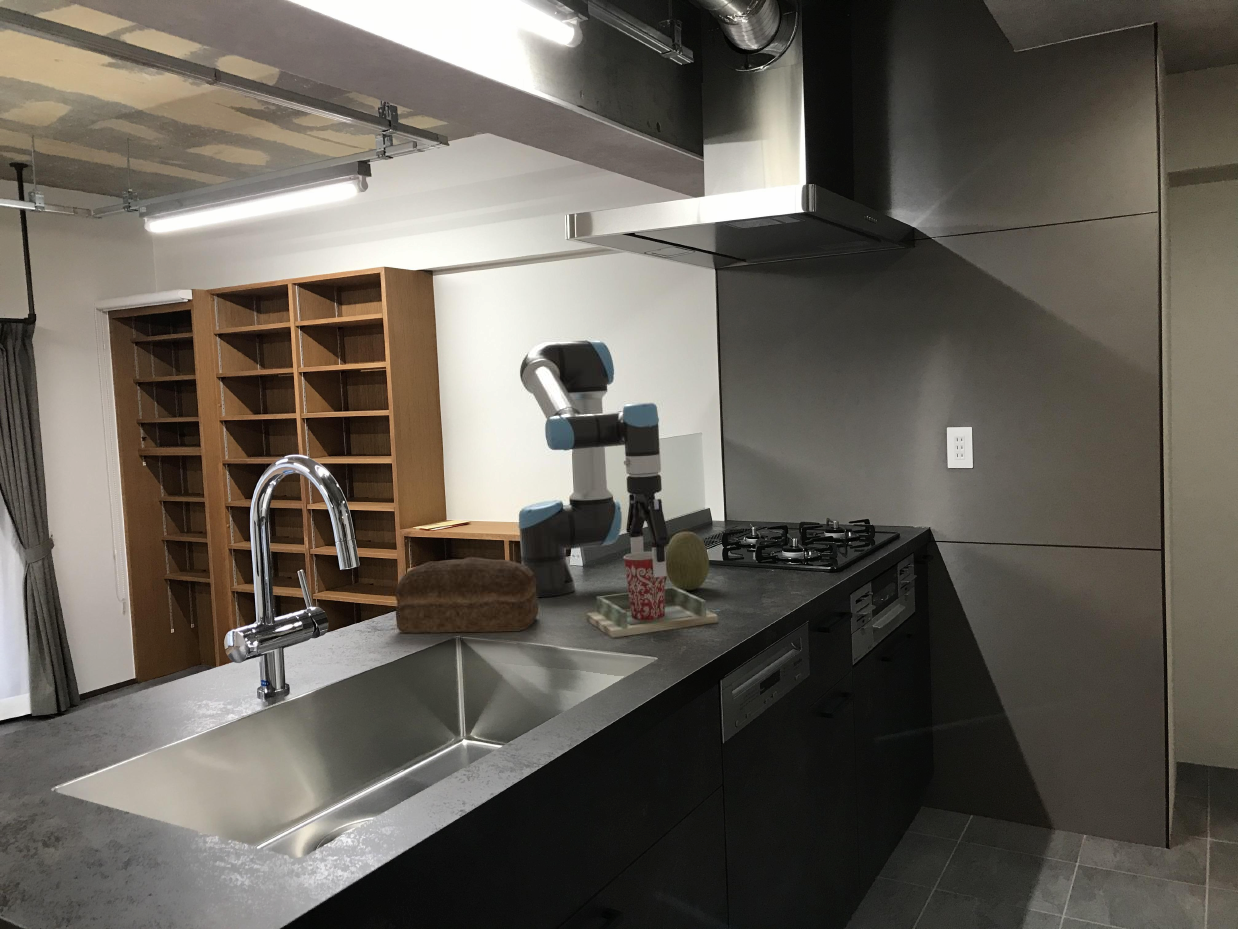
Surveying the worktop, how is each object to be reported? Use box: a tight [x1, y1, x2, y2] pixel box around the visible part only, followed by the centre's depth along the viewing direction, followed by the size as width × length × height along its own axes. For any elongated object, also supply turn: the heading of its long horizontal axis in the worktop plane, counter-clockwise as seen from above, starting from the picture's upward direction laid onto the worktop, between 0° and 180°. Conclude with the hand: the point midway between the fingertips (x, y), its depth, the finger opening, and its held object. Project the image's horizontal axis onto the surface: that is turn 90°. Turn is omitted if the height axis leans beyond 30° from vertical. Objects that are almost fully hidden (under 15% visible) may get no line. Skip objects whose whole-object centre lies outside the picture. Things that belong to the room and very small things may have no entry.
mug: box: [623, 551, 668, 620], centre depth 208 cm, size 13×9×14 cm
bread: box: [394, 556, 539, 633], centre depth 215 cm, size 15×32×16 cm, turn 80°
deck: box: [586, 586, 719, 638], centre depth 209 cm, size 18×24×5 cm
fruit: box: [665, 530, 710, 592], centre depth 240 cm, size 11×11×15 cm
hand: (648, 571), depth 208 cm, fingers open, 13 cm apart
